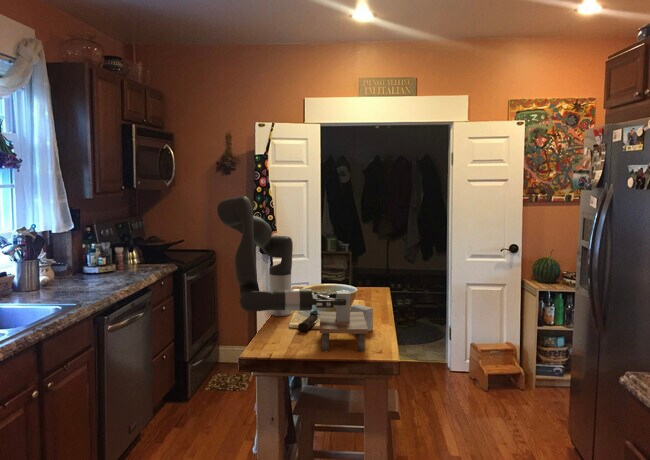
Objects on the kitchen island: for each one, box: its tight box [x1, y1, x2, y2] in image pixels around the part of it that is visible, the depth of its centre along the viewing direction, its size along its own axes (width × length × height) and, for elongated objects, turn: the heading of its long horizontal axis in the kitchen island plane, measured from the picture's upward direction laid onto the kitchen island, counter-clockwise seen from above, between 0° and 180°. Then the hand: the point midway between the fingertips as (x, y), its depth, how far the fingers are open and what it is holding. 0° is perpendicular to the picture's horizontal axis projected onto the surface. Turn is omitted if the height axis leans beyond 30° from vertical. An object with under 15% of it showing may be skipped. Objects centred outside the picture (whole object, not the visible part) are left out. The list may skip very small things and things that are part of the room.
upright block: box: [335, 290, 351, 322], centre depth 183 cm, size 4×4×10 cm
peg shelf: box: [319, 311, 369, 353], centre depth 184 cm, size 22×16×8 cm
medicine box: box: [350, 304, 374, 332], centre depth 200 cm, size 8×4×9 cm, turn 43°
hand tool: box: [297, 309, 319, 334], centre depth 205 cm, size 19×4×5 cm, turn 162°
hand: (344, 299), depth 183 cm, fingers open, 8 cm apart
